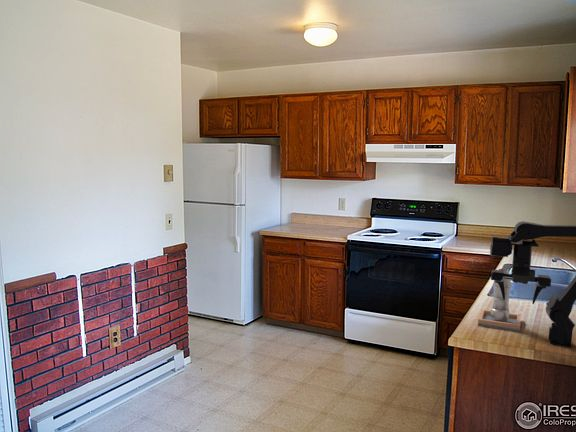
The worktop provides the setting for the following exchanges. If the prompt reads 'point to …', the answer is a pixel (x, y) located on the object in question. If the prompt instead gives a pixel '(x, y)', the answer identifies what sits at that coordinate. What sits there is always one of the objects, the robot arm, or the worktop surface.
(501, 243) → the robot arm
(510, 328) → the tray
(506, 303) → the silver tall hollow piece
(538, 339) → the worktop surface
